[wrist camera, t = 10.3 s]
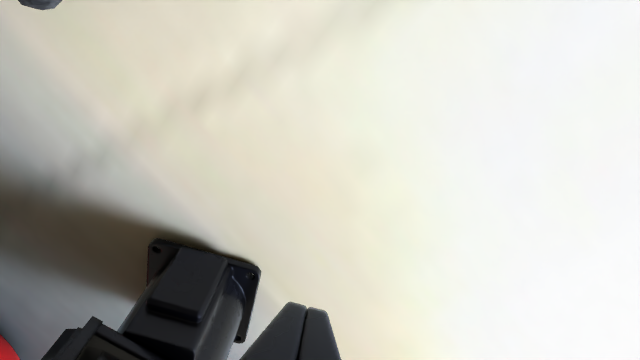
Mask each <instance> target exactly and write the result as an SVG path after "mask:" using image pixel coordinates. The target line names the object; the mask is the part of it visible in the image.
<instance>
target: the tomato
mask: <svg viewBox="0 0 640 360" xmlns="http://www.w3.org/2000/svg"><path fill="white" fill-rule="evenodd" d="M0 360H20V359H19V357H18V355H17V354H16V352H15V351H14V349H13V348H12V346H11V345H10V344H9V343H8V342H7V341H6V340H5V339H4V338H3V337H2V335H0Z"/></svg>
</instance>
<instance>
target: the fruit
mask: <svg viewBox="0 0 640 360" xmlns="http://www.w3.org/2000/svg"><path fill="white" fill-rule="evenodd" d="M18 1H19V2H20V3H21V4H22V5H24V6H28V7H31V8H35V9H40V10H46V9H53V8H55V7H56V6H57V5H58V4H59V3H60V2H61V1H62V0H18Z"/></svg>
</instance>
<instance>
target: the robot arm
mask: <svg viewBox="0 0 640 360" xmlns="http://www.w3.org/2000/svg"><path fill="white" fill-rule="evenodd" d="M157 247H159V248H160V249H159V248H157ZM250 273H252V274H254V275H252V274H250ZM260 276H261V270H260V269H259V268H258V267H257V266H255V265H252V264H248V263H245V262H241V261H238V260H234V259H230V258H227V257H223V256H220V255H216V254H213V253H209V252H206V251H202V250H198V249H195V248H191V247H188V246H184V245H181V244H177V243H174V242H170V241H166V240H163V239H158V238H156V239H154V240H152V242H151V243H150V244H149V246H148V264H147V288H146V289H145V291H144V292H143V294H142V295H141V297H140V298H139V300H138V301H137V303H136V304H135V306H134V307H133V309H132V310H131V312H130V313H129V314H128V316H127V317H126V319H125V320H124V322H123V323H122V325H121V326H120V328H119V329H118V331H115V330H113V329H111V328H109V327H107V326H106V325H104V324H102V322H103V321H101V320H99V319H97V318H95V317H94V316H92V317H91V319H90V320H89V321H88V322H87V324H86V325H85V326H84V327H83V329H82V328H79V327H78V328H77V329H66V330H65V331H64V332H63V333H62V335H61V336H60V337H59V338H58V340H57V341H56V342H55V343H54V345H53V346H52V347H51V348H50V349H49V351H48V352H47V353H46V354H45V355H44V357H43V358H42V359H41V360H227V357H228V354H229V352H230V349H231V346H232V344H233V342H235V343H243V342H244V341H245V339H246V336H247V332H248V328H249V324H250V320H251V315H252V311H253V307H254V302H255V298H256V294H257V289H258V285H259V281H260ZM240 360H341V358H340V354H339V351H338V348H337V344H336V341H335V337H334V334H333V331H332V327H331V324H330V320H329V317H328V314H327V312H326V311H324V310H320V309H316V308H313V307H309V308H308V309H307V308H306V306H304V305H301V304H297V303H293V302H288V303H287V304H286V305H285V306H284V307H283V309H282V310H281V311H280V312H279V313H278V315H277V316H276V317H275V318H274V319H273V321H272V322H271V323H270V324H269V325H268V326H267V328H266V329H265V330H264V331H263V332H262V334H261V335H260V336H259V337H258V338H257V340H256V341H255V342H254V343H253V344H252V346H251V347H250V348H249V349H248V350H247V351H246V353H245V354H244V355H243V356H242V357H241V359H240Z"/></svg>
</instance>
